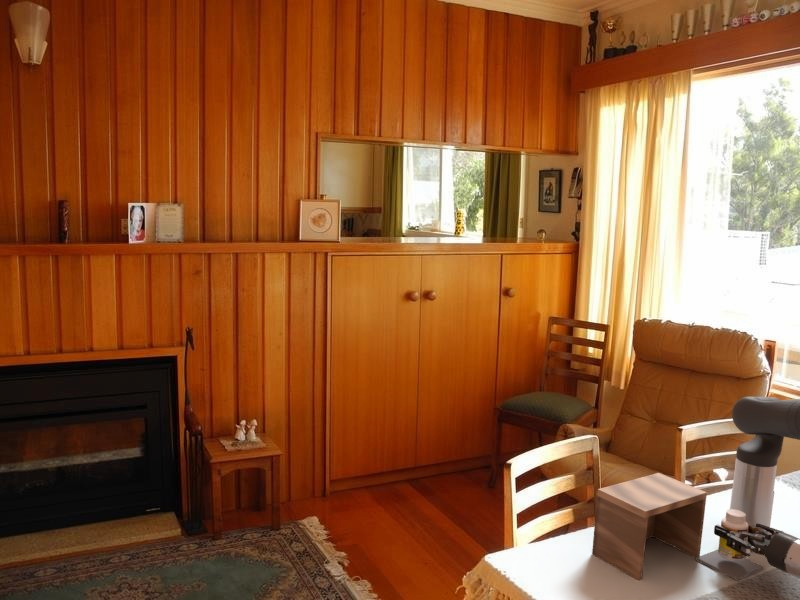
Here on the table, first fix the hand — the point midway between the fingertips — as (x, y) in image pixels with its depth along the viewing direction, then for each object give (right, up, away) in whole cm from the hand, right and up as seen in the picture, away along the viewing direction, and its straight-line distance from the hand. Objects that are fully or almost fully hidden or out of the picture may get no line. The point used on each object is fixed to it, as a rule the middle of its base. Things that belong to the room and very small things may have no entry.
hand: (723, 526), depth 170 cm
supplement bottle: (+1, -7, -1) cm, 7 cm away
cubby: (-17, -7, +2) cm, 18 cm away
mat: (+1, -8, -1) cm, 8 cm away
